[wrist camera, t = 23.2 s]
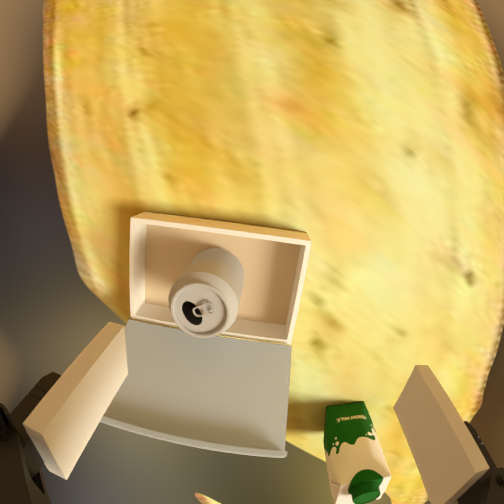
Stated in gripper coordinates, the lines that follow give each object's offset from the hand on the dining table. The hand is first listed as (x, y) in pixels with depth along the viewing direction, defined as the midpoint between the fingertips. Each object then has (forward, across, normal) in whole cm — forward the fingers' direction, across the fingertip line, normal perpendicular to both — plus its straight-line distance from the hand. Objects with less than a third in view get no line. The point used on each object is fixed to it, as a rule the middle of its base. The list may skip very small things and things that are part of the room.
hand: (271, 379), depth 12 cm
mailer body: (+29, -6, -7) cm, 31 cm away
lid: (+16, -6, -16) cm, 23 cm away
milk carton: (+29, +20, -32) cm, 47 cm away
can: (+29, -6, -7) cm, 30 cm away
